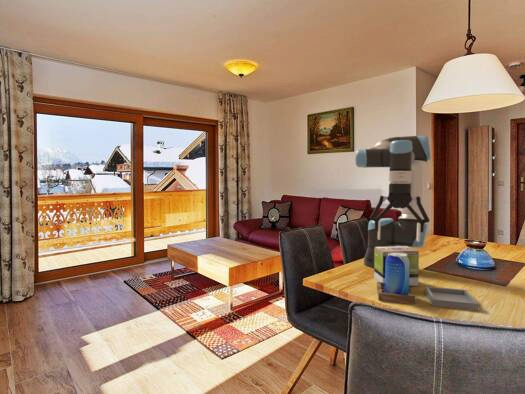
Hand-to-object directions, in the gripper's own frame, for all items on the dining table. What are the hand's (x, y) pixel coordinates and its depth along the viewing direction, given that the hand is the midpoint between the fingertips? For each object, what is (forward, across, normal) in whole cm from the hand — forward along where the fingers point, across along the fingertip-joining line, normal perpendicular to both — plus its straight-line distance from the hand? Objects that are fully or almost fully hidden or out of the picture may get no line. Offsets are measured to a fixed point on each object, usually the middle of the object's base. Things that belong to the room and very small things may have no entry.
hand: (398, 240), depth 124 cm
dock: (+21, 0, 0) cm, 21 cm away
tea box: (+21, +1, +16) cm, 27 cm away
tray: (+21, +18, 0) cm, 28 cm away
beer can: (+21, 0, 0) cm, 21 cm away
